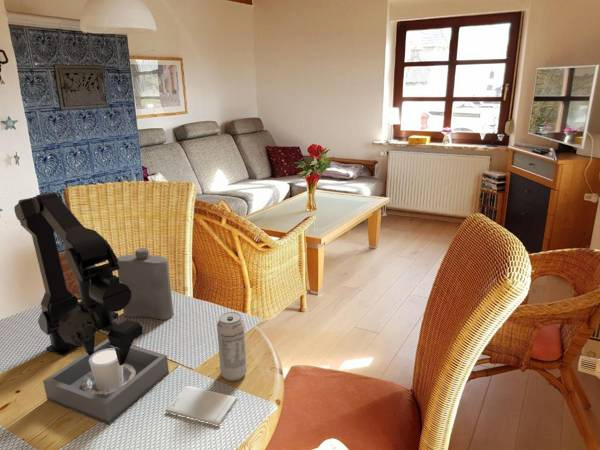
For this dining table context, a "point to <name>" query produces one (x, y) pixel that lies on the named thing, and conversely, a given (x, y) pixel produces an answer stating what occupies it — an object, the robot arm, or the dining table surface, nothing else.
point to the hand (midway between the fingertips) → (106, 359)
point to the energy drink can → (231, 346)
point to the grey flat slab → (202, 405)
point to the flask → (146, 285)
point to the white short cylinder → (106, 369)
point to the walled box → (70, 395)
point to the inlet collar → (106, 394)
